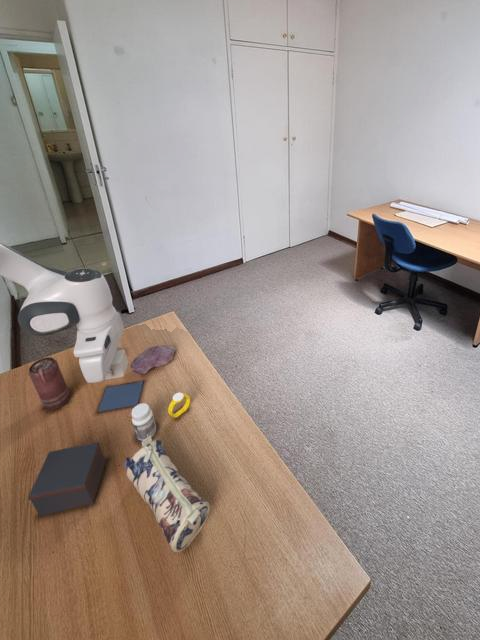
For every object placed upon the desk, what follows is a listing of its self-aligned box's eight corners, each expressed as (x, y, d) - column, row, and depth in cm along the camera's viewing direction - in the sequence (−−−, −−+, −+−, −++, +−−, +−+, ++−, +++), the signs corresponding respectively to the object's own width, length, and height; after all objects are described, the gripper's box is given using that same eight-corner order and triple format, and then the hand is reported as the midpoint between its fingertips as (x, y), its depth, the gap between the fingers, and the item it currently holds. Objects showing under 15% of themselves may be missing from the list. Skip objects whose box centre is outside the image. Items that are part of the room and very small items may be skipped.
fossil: (126, 370, 102) (123, 358, 100) (168, 346, 112) (165, 333, 110) (139, 384, 97) (136, 371, 95) (181, 356, 107) (179, 344, 105)
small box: (99, 380, 86) (94, 366, 84) (105, 366, 91) (100, 352, 89) (124, 376, 88) (119, 362, 86) (128, 362, 92) (124, 349, 90)
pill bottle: (136, 427, 85) (129, 405, 81) (156, 421, 86) (150, 398, 83) (136, 444, 81) (129, 421, 77) (156, 437, 82) (150, 414, 79)
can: (46, 416, 88) (28, 378, 82) (43, 400, 92) (26, 363, 86) (72, 403, 91) (57, 366, 85) (68, 388, 95) (53, 352, 90)
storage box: (39, 516, 67) (27, 497, 64) (58, 470, 75) (48, 451, 72) (93, 504, 69) (84, 484, 66) (106, 460, 77) (99, 441, 74)
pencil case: (127, 482, 73) (117, 455, 69) (163, 453, 79) (156, 426, 75) (179, 568, 60) (171, 540, 56) (218, 526, 66) (212, 498, 62)
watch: (174, 423, 86) (170, 407, 83) (168, 417, 87) (164, 402, 85) (193, 407, 90) (190, 392, 88) (187, 402, 92) (184, 386, 89)
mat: (98, 412, 89) (97, 411, 89) (106, 388, 96) (106, 387, 96) (137, 405, 91) (137, 404, 91) (143, 382, 98) (143, 381, 98)
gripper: (99, 304, 91) (111, 342, 97) (70, 358, 73) (86, 400, 79) (123, 301, 92) (133, 339, 98) (100, 353, 74) (115, 395, 80)
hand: (112, 367), depth 89 cm, fingers closed on small box, 5 cm apart
